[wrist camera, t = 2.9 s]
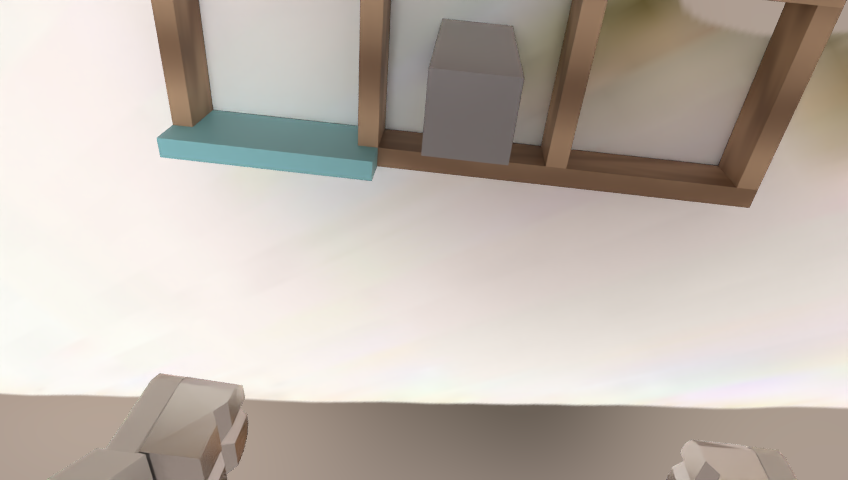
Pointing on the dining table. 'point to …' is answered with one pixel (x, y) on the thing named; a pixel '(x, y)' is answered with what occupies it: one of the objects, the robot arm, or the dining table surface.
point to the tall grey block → (472, 93)
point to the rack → (547, 164)
